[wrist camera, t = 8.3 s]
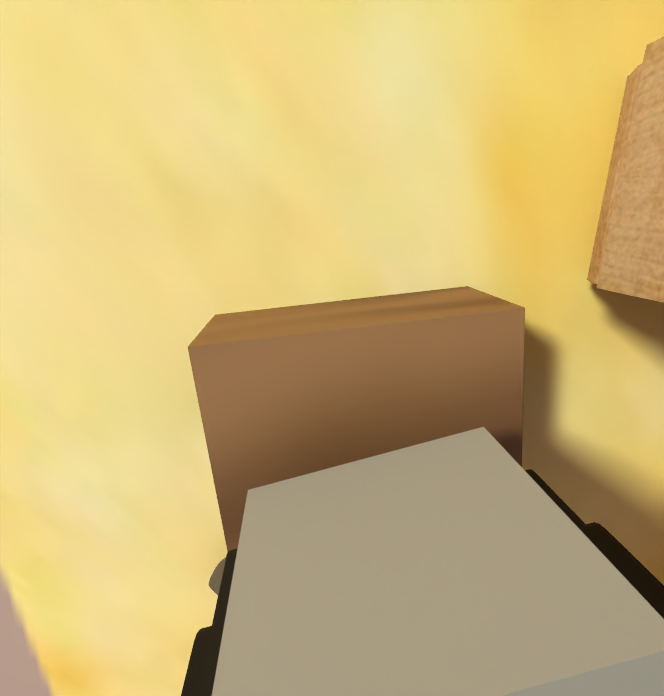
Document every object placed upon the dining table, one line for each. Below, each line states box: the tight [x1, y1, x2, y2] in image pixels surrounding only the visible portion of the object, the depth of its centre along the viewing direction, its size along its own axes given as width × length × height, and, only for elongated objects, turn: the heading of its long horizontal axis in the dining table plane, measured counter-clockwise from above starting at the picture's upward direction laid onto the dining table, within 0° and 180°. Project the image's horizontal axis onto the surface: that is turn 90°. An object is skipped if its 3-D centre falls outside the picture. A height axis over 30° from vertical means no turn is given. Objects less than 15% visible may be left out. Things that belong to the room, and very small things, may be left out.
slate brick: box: [212, 427, 664, 696], centre depth 8 cm, size 5×5×5 cm
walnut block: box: [188, 286, 525, 551], centre depth 14 cm, size 8×8×4 cm
